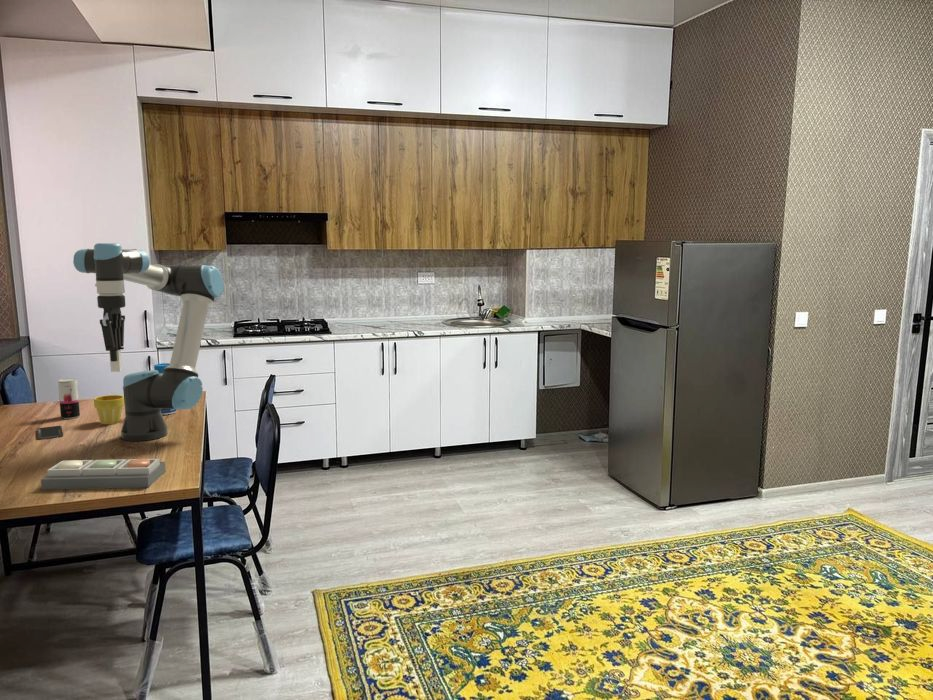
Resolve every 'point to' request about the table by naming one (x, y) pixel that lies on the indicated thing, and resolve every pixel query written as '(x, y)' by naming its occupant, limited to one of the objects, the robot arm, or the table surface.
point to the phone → (49, 432)
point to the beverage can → (68, 398)
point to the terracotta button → (138, 463)
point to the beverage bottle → (160, 369)
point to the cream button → (71, 464)
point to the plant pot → (109, 408)
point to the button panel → (103, 476)
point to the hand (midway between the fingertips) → (116, 371)
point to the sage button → (105, 464)
